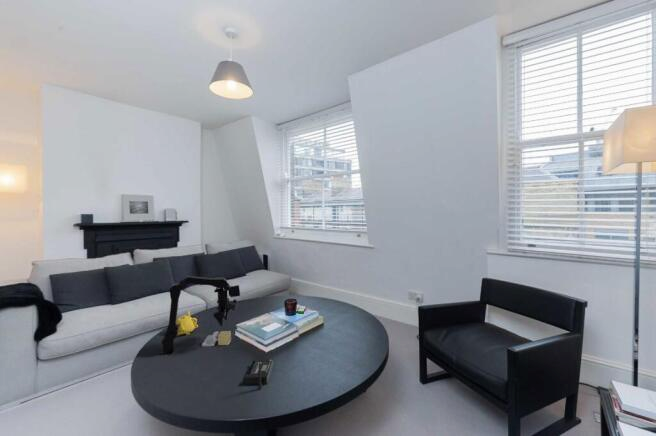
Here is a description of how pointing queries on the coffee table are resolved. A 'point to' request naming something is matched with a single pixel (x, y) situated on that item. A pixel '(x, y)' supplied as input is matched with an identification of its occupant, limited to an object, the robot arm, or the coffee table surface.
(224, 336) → the brushed brass cube
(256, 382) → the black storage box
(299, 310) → the puzzle cube
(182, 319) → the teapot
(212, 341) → the hammer
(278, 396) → the coffee table surface
